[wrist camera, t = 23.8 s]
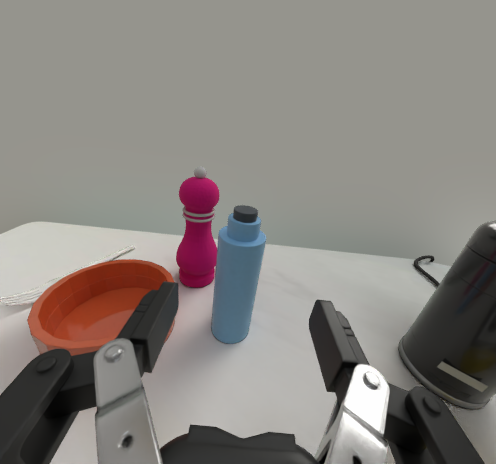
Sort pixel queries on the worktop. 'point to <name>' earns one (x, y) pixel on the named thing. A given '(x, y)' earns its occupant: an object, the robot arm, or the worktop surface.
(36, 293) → the fork
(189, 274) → the pepper mill
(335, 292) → the worktop surface
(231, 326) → the bottle
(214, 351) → the worktop surface
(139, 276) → the pot
